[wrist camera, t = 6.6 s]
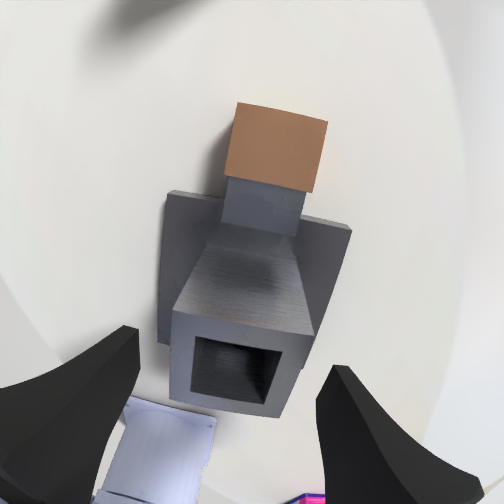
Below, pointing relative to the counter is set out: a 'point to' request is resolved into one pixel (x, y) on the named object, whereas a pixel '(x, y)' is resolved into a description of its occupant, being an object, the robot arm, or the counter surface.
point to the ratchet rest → (257, 211)
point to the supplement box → (309, 499)
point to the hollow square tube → (239, 333)
